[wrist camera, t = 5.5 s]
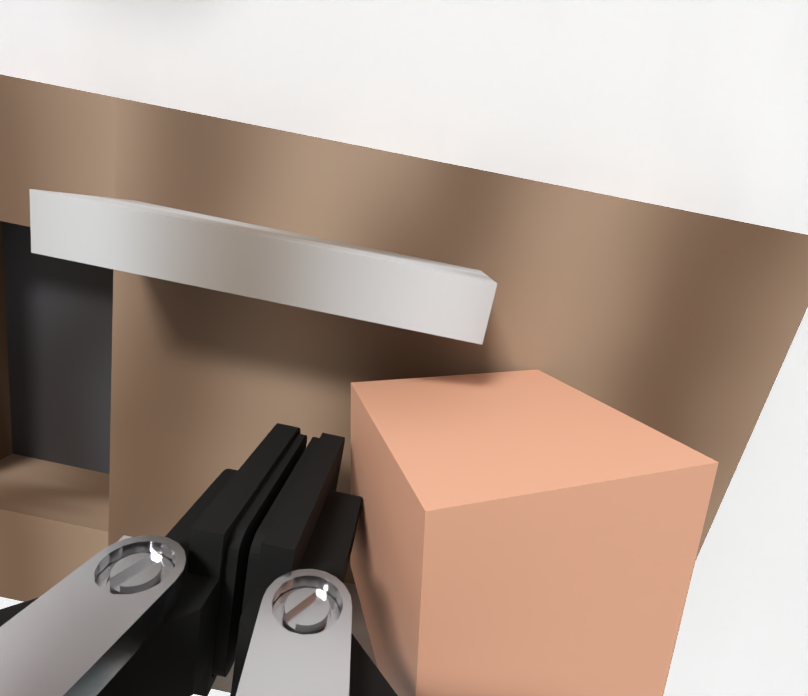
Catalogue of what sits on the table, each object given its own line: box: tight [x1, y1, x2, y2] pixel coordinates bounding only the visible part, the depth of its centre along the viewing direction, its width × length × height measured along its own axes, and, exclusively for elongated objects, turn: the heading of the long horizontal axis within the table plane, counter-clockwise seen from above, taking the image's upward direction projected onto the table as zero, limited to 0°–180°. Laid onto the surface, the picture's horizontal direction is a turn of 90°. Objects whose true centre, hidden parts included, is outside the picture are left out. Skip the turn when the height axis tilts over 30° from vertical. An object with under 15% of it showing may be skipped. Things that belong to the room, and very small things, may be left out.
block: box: [350, 369, 719, 696], centre depth 9 cm, size 5×5×5 cm
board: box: [0, 75, 808, 693], centre depth 13 cm, size 24×16×6 cm, turn 79°
